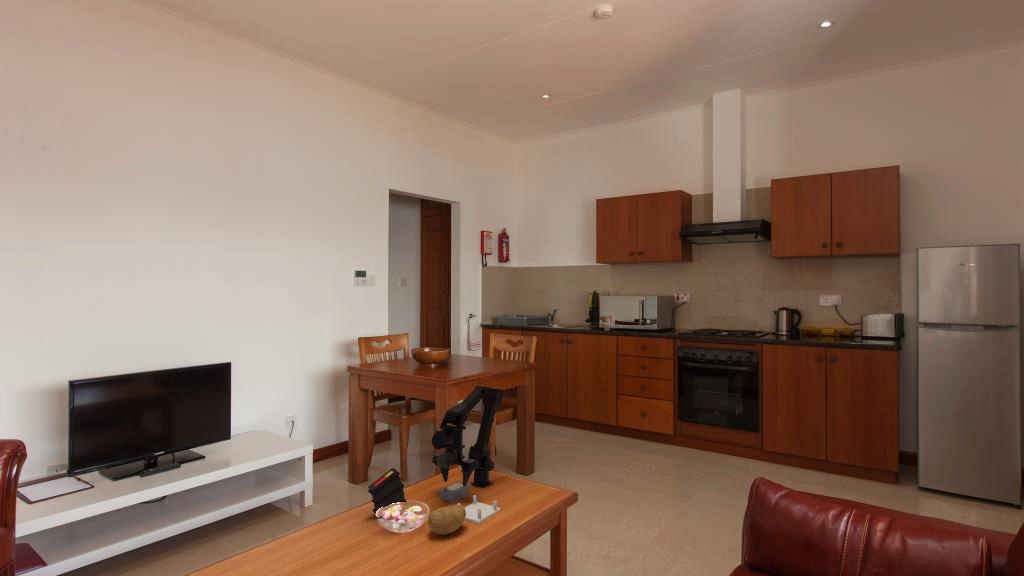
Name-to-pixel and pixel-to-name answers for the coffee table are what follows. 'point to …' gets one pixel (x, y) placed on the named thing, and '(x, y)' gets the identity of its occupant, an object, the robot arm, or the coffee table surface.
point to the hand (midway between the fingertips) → (455, 484)
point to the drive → (454, 492)
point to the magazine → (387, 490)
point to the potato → (446, 519)
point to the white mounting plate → (480, 511)
